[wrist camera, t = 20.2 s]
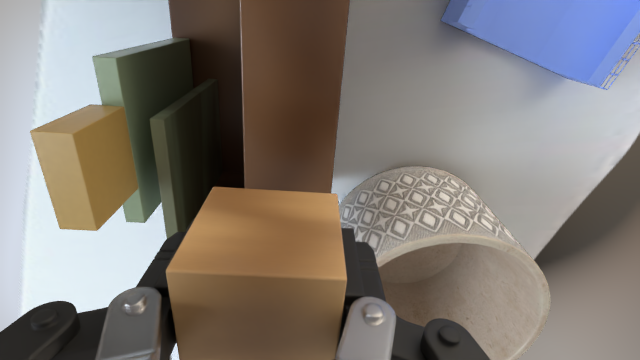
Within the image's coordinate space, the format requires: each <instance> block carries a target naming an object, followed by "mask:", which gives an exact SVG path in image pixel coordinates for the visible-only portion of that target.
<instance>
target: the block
mask: <svg viewBox="0 0 640 360" xmlns="http://www.w3.org/2000/svg"><path fill="white" fill-rule="evenodd" d="M166 276H167V283H168V289H169V296H170V302H171V308H172V315H173V321H174V328H175V334H176V340H177V347H178V353H179V359H180V360H332V359H335V356H336V353H337V349H338V342H339V335H340V328H341V320H342V313H343V306H344V299H345V292H346V284H347V274H346V265H345V256H344V248H343V239H342V231H341V222H340V213H339V205H338V196H337V194H331V193H314V192H297V191H279V190H262V189H245V188H228V187H213V188H212V190H211V191H210V193H209V195H208V197H207V198H206V200H205V202H204V204H203V205H202V207H201V209H200V211H199V213H198V214H197V216H196V218H195V220H194V221H193V223H192V225H191V227H190V228H189V230H188V232H187V234H186V235H185V237H184V239H183V241H182V243H181V244H180V246H179V248H178V250H177V251H176V253H175V255H174V257H173V258H172V260H171V262H170V264H169V265H168V267H167V269H166Z"/></svg>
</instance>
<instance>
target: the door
mask: <svg viewBox="0 0 640 360" xmlns="http://www.w3.org/2000/svg"><path fill="white" fill-rule="evenodd" d="M93 62H94V67H95V72H96V77H97V82H98V87H99V91H100V96H101V101H102V105H88V106H86V107H84V108H81V109H79V110H77V111H75V112H72V113H70V114H68V115H65V116H63V117H61V118H59V119H56V120H54V121H52V122H49V123H47V124H45V125H43V126H40V127H38V128H36V129H33V130H31V131H30V133H31V136H32V140H33V143H34V146H35V149H36V153H37V156H38V159H39V162H40V166H41V169H42V172H43V175H44V179H45V182H46V185H47V188H48V192H49V195H50V198H51V201H52V205H53V208H54V211H55V214H56V218H57V221H58V224H59V227H60V229H73V230H92V231H97V230H98V229H99V228H100V227H101V226H102V225H103V224H104V223H105V222H106V221H107V220H108V219H109V218H110V217H111V216H112V215H113V214H114V213H115V212H116V211H117V210H118V209H119V208H120V207H121V206H122V205H123V208H124V213H125V218H126V222H140V223H145V222H146V221H147V219H148V218H149V217H150V216H151V214H152V213H153V212H154V211H155V209H156V208H157V207H158V205H159V204H160V203H161V202H162V201H161V194H160V188H159V181H158V174H157V167H156V161H155V154H154V147H153V140H152V134H151V127H150V118H152V117H153V116H155V115H156V114H158V113H159V112H160V111H162V110H163V109H165V108H166V107H168V106H169V105H171V104H172V103H174V102H175V101H177V100H178V99H180V98H181V97H182V96H184V95H185V94H187V93H188V92H190V91H191V90H193V89H194V87H193V75H192V64H191V52H190V41H189V39H185V38H172V39H167V40H163V41H158V42H154V43H149V44H145V45H141V46H136V47H132V48H127V49H123V50H118V51H114V52H109V53H105V54H101V55H96V56H93Z"/></svg>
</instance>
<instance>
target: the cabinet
mask: <svg viewBox="0 0 640 360" xmlns="http://www.w3.org/2000/svg"><path fill="white" fill-rule="evenodd" d="M168 1H169V10H170V19H171V29H172V38H185V39H189V41H190V52H191V64H192V75H193V87H194V89H193V90H191V91H190V92H188V93H187V94H185V95H184V96H182V97H181V98H180V99H178V100H177V101H175V102H174V103H172V104H171V105H169V106H168V107H166V108H165V109H163V110H162V111H160V112H159V113H158V114H156V115H155V116H153V117H152V118H150V127H151V134H152V140H153V147H154V154H155V161H156V167H157V174H158V181H159V188H160V194H161V201H162V208H163V215H164V222H165V228H166V235H167V239H168V238H169V237H171V236H172V235H173V234H175V233H176V232H185V231H186V230H187V228H188V226H189V224H190V223H191V221H192V220H193V219H195V218H196V216H197V214H198V213H199V211H200V209H201V207H202V205H203V204H204V202H205V200H206V198H207V197H208V195H209V193H210V191H211V190H212V188H213V187H228V188H245V189H262V190H279V191H297V192H314V193H331V188H332V178H333V168H334V157H335V147H336V137H337V126H338V116H339V106H340V95H341V85H342V75H343V64H344V54H345V44H346V33H347V23H348V13H349V3H350V0H168Z"/></svg>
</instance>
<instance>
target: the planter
mask: <svg viewBox="0 0 640 360" xmlns="http://www.w3.org/2000/svg"><path fill="white" fill-rule="evenodd" d="M339 213H340V222H341V228H353V229H354V235H355V240H356V242H367V243H368V244H369V246H370V247H371V248H372V249H373V250H374V253H375V257H376V263H377V265H378V271H379V274H380V278H381V282H382V286H383V290H384V295H385V299H386V302H387V303H388V304H389V305H390V306H391V307H392V308H393V310H394V312H395V314H396V315H397V316H398V317H400V318H401V319H403V320H405V321H408V322H410V323H414V324H417V325H420V326H423V327H425V326H426V324H427V323H428V322H429V321H431V320H433V319H438V318H443V319H448V320H452V321H454V322H456V323H458V324H460V325H461V326H463V327H464V328H465V329H466V330H467V331H468V332H469V333H470V334H471V336H472V337H473V338H474V339H475V341H476V342H477V343H478V344H479V346H480V347H481V348H482V349H483V351H484V352H485V353H486V354H487V356H488V357H489V358H490V359H491V360H517V359H518V358H519V357H521V356H522V355H523V354H524V353H525V352H526V351H527V350H528V349H529V348H530V347H531V346H532V344H533V343H534V342H535V340H536V339H537V338H538V336H539V335H540V333H541V331H542V329H543V327H544V325H545V323H546V320H547V317H548V314H549V310H550V291H549V286H548V283H547V281H546V278H545V276H544V274H543V272H542V271H541V269H540V268H539V266H538V265H537V264H536V262H535V261H534V260H533V259H532V258H531V257H530V255H529V254H528V253H527V252H526V251H525V250H524V248H523V247H522V246H521V245H520V244H519V243H518V242H517V240H516V239H515V238H514V237H513V236H512V235H511V233H510V232H509V231H508V230H507V229H506V228H505V226H504V225H503V224H502V223H501V222H500V221H499V220H498V218H497V217H496V216H495V215H494V214H493V213H492V211H491V210H490V209H489V208H488V207H487V206H486V204H485V203H484V202H483V201H482V200H481V199H480V198H479V196H478V195H477V194H476V193H475V192H474V191H473V189H472V188H471V187H469V186H468V185H467V184H466V183H465V182H464V181H463V180H461V179H459V178H458V177H456V176H455V175H453V174H450V173H448V172H446V171H443V170H439V169H435V168H431V167H421V166H412V167H401V168H396V169H391V170H388V171H385V172H382V173H380V174H377V175H375V176H373V177H371V178H369V179H367V180H365V181H364V182H363V183H361V184H360V185H358V186H357V187H356V188H354V189H353V190H352V191H351V192H350V193H349V194H348V195H347V196H346V197H345V199H344V200H343V201H342V203H341V204H340V205H339Z"/></svg>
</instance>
